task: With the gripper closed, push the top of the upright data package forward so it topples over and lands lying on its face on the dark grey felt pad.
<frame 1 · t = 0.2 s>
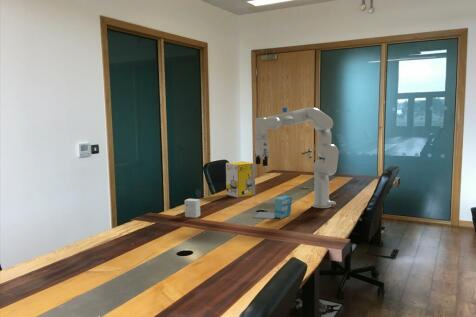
hand: (261, 164, 248), 31 cm above the table, tool pointing down, fingers open, 9 cm apart
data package: (282, 216, 243), on the table, touching felt pad
packaging box: (240, 195, 311), on the table
felt pad: (266, 215, 246), on the table
small box: (192, 216, 247), on the table
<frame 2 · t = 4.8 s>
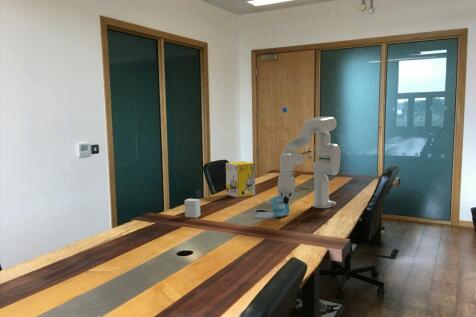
hand: (286, 203, 241), 8 cm above the table, tool pointing down, fingers closed
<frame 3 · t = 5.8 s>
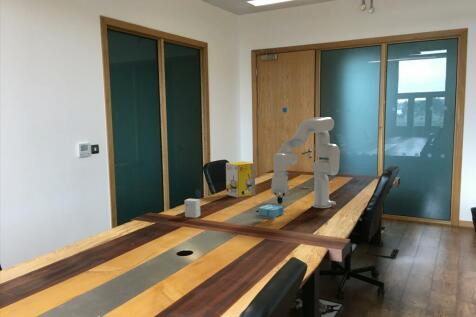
hand: (279, 203, 242), 8 cm above the table, tool pointing down, fingers closed
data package: (279, 212, 244), point 3 cm above the table, touching felt pad
everything else where it was.
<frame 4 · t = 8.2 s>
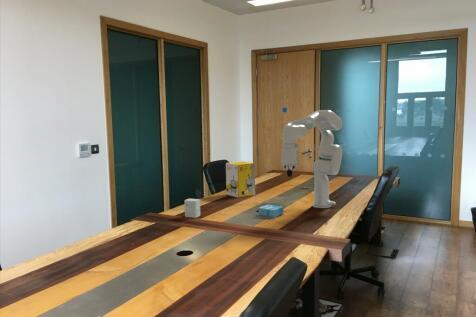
hand: (289, 176, 239), 25 cm above the table, tool pointing down, fingers closed
nothing on the table moved.
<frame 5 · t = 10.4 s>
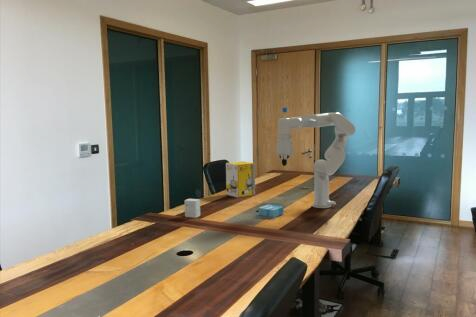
hand: (284, 165, 257), 29 cm above the table, tool pointing down, fingers closed
nothing on the table moved.
at the end: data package tilted 90°; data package inside the target area (5.6 cm from its centre), point 2.6 cm above the table; the gripper is holding nothing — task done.
